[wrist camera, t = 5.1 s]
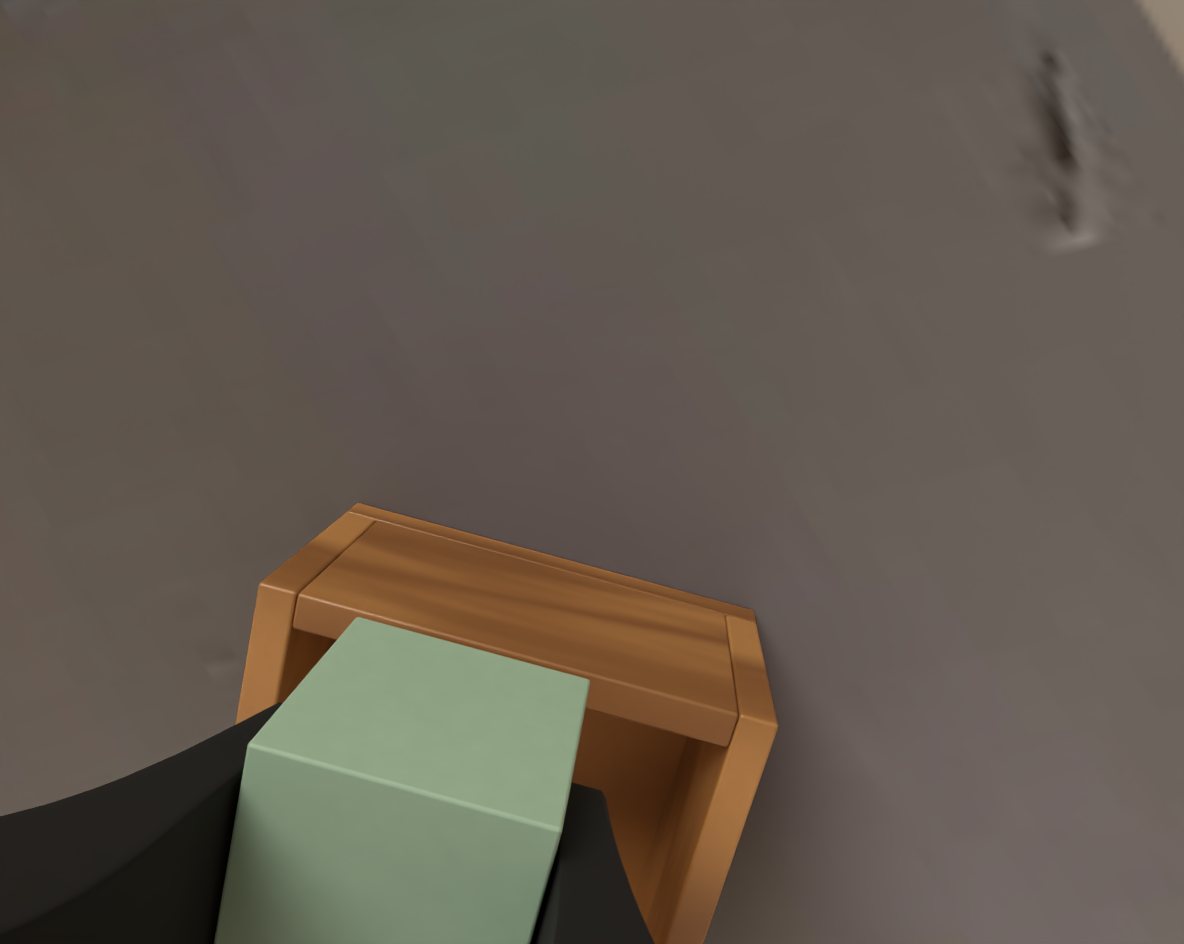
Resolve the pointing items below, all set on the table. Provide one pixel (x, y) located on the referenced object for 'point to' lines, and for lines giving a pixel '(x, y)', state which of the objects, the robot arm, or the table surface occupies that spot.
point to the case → (567, 644)
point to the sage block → (403, 797)
